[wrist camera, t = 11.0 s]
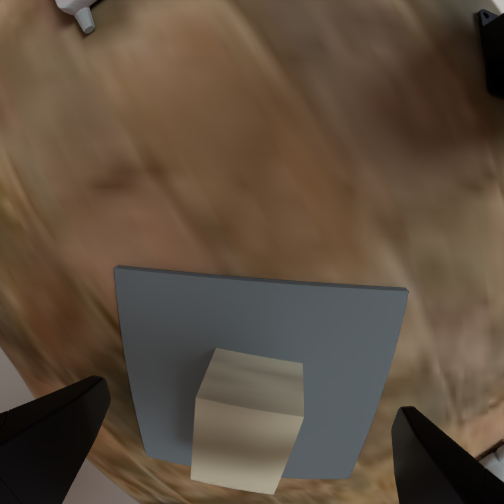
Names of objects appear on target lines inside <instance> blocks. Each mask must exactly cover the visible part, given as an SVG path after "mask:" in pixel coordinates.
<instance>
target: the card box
mask: <svg viewBox="0 0 504 504" xmlns="http://www.w3.org/2000/svg"><path fill="white" fill-rule="evenodd" d="M303 419H304V387H303V363H297V362H291V361H285V360H278V359H273V358H267V357H261V356H256V355H250V354H245V353H240V352H235V351H230V350H225V349H220V348H216V349H215V352H214V354H213V357H212V359H211V361H210V364H209V366H208V369H207V371H206V374H205V376H204V379H203V381H202V383H201V386H200V388H199V391H198V393H197V396H196V402H195V416H194V431H193V447H192V466H191V479H192V480H196V481H200V482H204V483H209V484H213V485H218V486H223V487H228V488H234V489H239V490H245V491H251V492H258V493H265V494H273V495H274V492H275V490H276V488H277V485H278V483H279V481H280V478H281V476H282V473H283V471H284V469H285V466H286V464H287V461H288V459H289V456H290V454H291V451H292V448H293V446H294V443H295V441H296V438H297V435H298V433H299V430H300V427H301V425H302V422H303Z"/></svg>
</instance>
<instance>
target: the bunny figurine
mask: <svg viewBox="0 0 504 504" xmlns="http://www.w3.org/2000/svg"><path fill="white" fill-rule="evenodd" d="M479 462H480V463H481V464H482V465H483V466H484V467H485V468H487V469H488V470H489V471H490V472H492V473H493V474H494V475H495V476H497V477H498V478H499V479H500V480H502V481H503V482H504V444H503V445H502V446H501V447H499V448H498V449H497V451H495V452H494V453H491V454H489V455H488V456H486V457H485V458H483V459H482V460H480V461H479ZM485 468H484V469H485Z"/></svg>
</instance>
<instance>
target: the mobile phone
mask: <svg viewBox="0 0 504 504" xmlns="http://www.w3.org/2000/svg"><path fill="white" fill-rule="evenodd" d="M55 1H56V3H57V6H58V7H59V8H60V9H61V10H62V11H63V12H65V13H68V14H70V15H74V16H75V19H77V21H78V23H79V25H80V26H81V28H82V30H83V31H84V32H85V33H87V34H88V33H90V32H92V31H93V30H94V28H95V25H94V22H93V19H92V15H91V12H90V8H89V6H90V5H92V4H93V3H94V2H96V1H97V0H55Z"/></svg>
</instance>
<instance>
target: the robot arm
mask: <svg viewBox="0 0 504 504" xmlns="http://www.w3.org/2000/svg"><path fill="white" fill-rule="evenodd" d="M484 15H485V17H486V18H485V17H484ZM478 19H479V24H480V34H481V40H482V47H483V54H484V60H485V67H486V77H487V88H488V91H489V93H490V94H491V95H493V96H495V97H498V98H501V99H503V100H504V13H503V14H501V15H500V16H498V15H496V14H494V13H491V12H489V11H487V10H484V9H482V10H480V11H479V12H478ZM493 86H495V88H496V91H495V90H494V88H493ZM110 401H111V397H110V393H109V390H108V386H107V382H106V380H105V379H104V378H103V377H99V376H95V375H93V376H90V377H88V378H85V379H83V380H81V381H79V382H76V383H74V384H72V385H69V386H67V387H64V388H62V389H60V390H57V391H55V392H53V393H50V394H48V395H45V396H43V397H40V398H38V399H36V400H33V401H31V402H28V403H26V404H23V405H21V406H18V407H16V408H13V409H11V410H9V411H6V412H3V413H0V504H62V502H63V501H64V499H65V496H66V495H67V493H68V491H69V489H70V486H71V485H72V483H73V481H74V479H75V477H76V475H77V473H78V471H79V469H80V468H81V466H82V464H83V462H84V460H85V458H86V456H87V454H88V453H89V451H90V449H91V447H92V445H93V443H94V441H95V439H96V437H97V435H98V432H99V430H100V427H101V425H102V422H103V420H104V417H105V415H106V412H107V410H108V407H109V405H110ZM391 434H392V446H393V460H394V474H395V481H396V486H397V492H398V498H399V504H504V482H503V481H502V480H500V479H499V478H498V477H497V476H495V475H494V474H493V473H492V472H490V471H489V470H488V469H487V468H485V467H484V466H483V465H482V464H481V463H480V462H478V461H477V460H476V459H475V458H474V457H472V456H471V455H470V454H469V453H468V452H467V451H465V450H464V449H463V448H462V447H461V446H459V445H458V444H457V443H456V442H455V441H454V440H452V439H451V438H450V437H449V436H448V435H446V434H445V433H444V432H443V431H442V430H441V429H439V428H438V427H437V426H436V425H435V424H434V423H432V422H431V421H430V420H429V419H428V418H426V417H425V416H424V415H423V414H422V413H421V412H419V411H418V410H417V409H416V408H415V407H413V406H404V407H400V408H399V410H398V412H397V415H396V417H395V420H394V423H393V425H392V430H391ZM484 468H485V469H484Z"/></svg>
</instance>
